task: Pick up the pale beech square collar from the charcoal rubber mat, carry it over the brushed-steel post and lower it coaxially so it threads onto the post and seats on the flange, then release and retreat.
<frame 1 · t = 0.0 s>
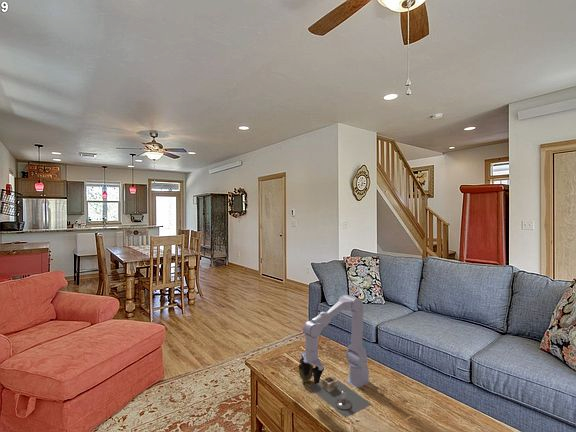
hand: (311, 378, 135), 10 cm above the table, fingers open, 7 cm apart
collar: (329, 388, 145), resting on mat
post: (343, 404, 132), resting on mat
mat: (338, 395, 139), on the table
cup: (305, 382, 151), on the table
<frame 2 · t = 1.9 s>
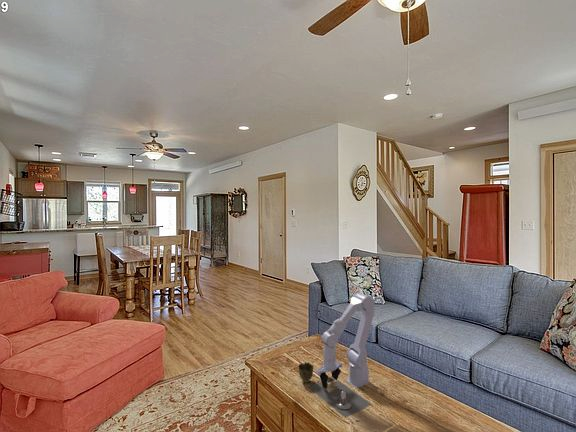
hand: (329, 385, 145), 2 cm above the table, fingers closed on collar, 5 cm apart
collar: (329, 388, 145), resting on mat, touching gripper
everything else where it was.
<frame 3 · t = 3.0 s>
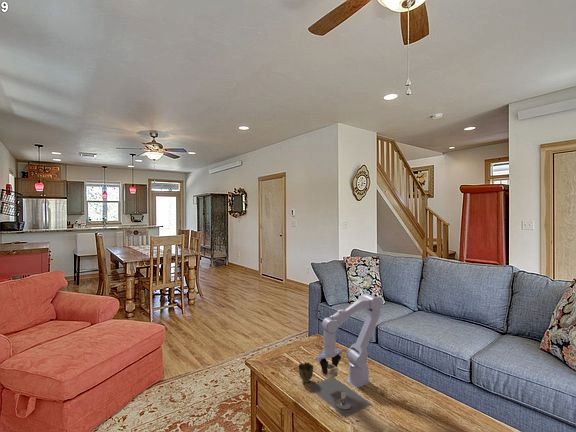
hand: (329, 371, 145), 8 cm above the table, fingers closed on collar, 5 cm apart
collar: (329, 374, 145), point 7 cm above the table, touching gripper
everything else where it was.
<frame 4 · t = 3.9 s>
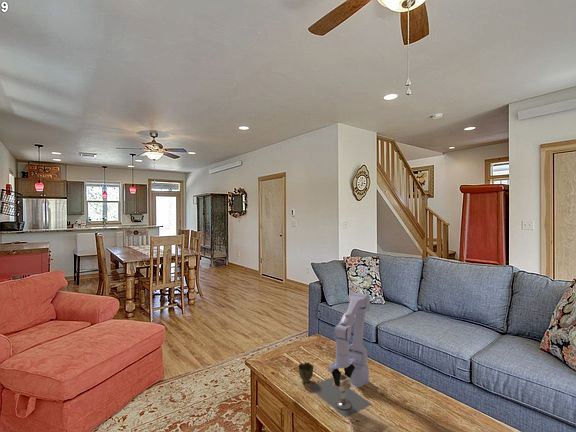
hand: (342, 383, 133), 9 cm above the table, fingers closed on collar, 5 cm apart
collar: (341, 386, 133), point 8 cm above the table, touching gripper
everything else where it was.
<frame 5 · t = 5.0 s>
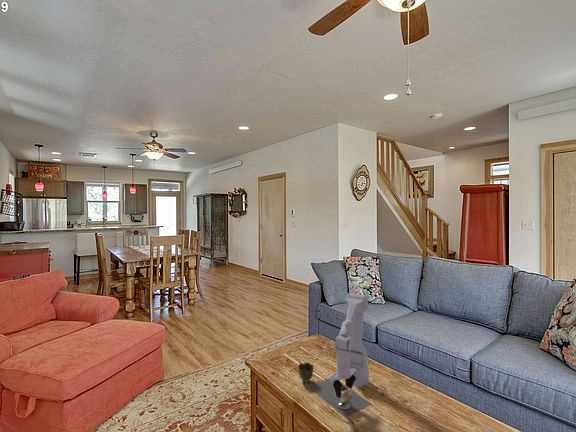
hand: (343, 394, 132), 5 cm above the table, fingers closed on collar, 5 cm apart
collar: (342, 397, 132), point 4 cm above the table, touching gripper
everything else where it was.
when the fingers open (4 cm above the table, at t = 5.9 s): collar drops 1 cm, resting on post.
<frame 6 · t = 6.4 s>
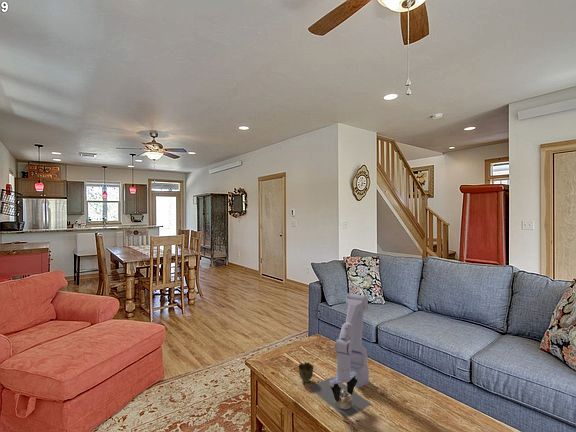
hand: (343, 397, 132), 4 cm above the table, fingers open, 7 cm apart
collar: (342, 403, 132), point 1 cm above the table, touching post
everything else where it was.
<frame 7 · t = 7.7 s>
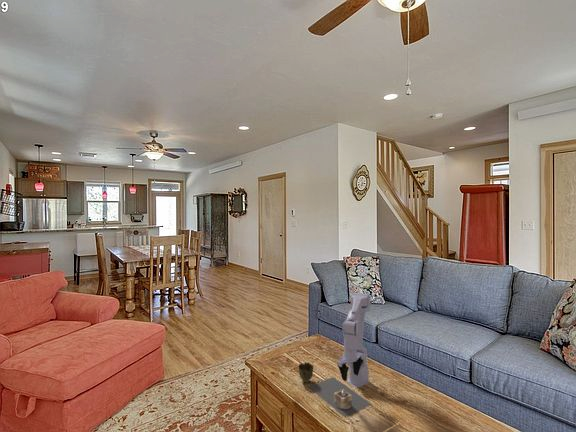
hand: (350, 377, 137), 10 cm above the table, fingers open, 7 cm apart
nothing on the table moved.
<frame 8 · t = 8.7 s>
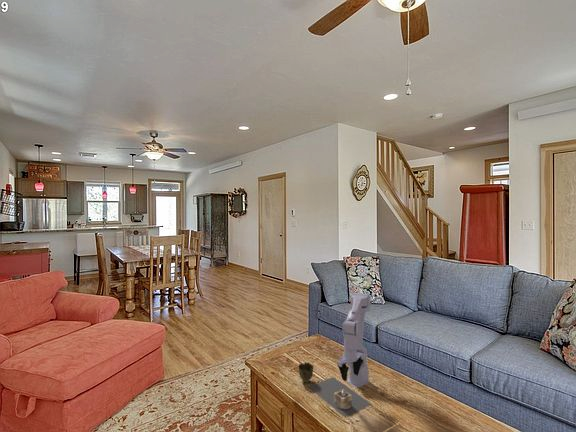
hand: (350, 377, 137), 10 cm above the table, fingers open, 7 cm apart
nothing on the table moved.
at the end: collar 0.3 cm off-centre on the post, point 0.6 cm above the post's base; collar tilted 0°; the gripper is holding nothing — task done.
